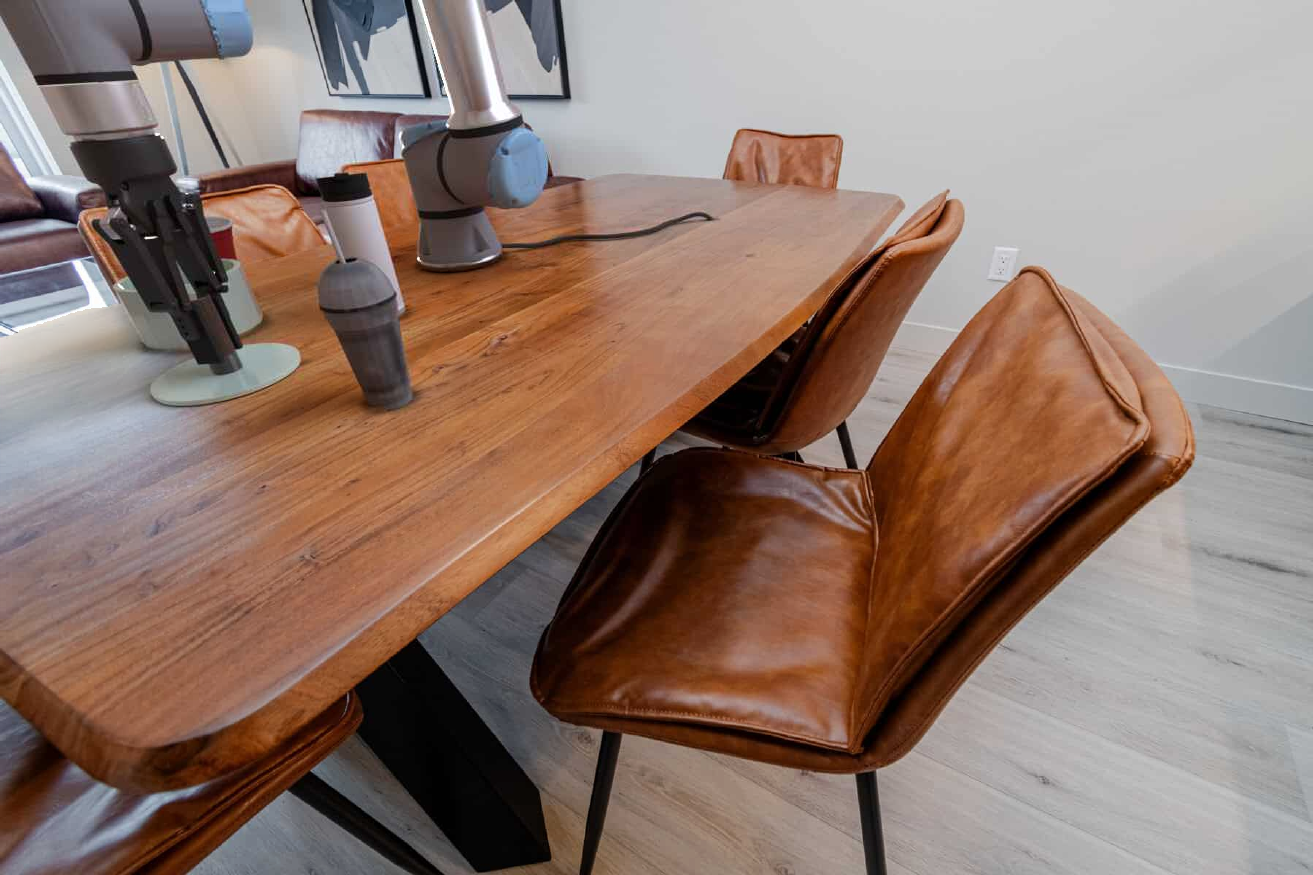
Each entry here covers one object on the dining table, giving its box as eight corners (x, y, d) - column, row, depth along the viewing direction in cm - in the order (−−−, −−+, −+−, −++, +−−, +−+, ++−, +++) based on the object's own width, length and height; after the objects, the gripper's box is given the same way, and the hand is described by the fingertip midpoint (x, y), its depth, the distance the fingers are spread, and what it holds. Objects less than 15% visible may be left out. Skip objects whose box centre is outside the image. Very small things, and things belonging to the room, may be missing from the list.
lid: (324, 347, 79) (295, 271, 74) (263, 406, 66) (223, 318, 60) (205, 355, 79) (168, 279, 73) (122, 415, 66) (68, 328, 60)
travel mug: (364, 328, 85) (313, 176, 74) (360, 314, 90) (312, 170, 79) (409, 319, 87) (367, 170, 76) (403, 305, 92) (363, 165, 81)
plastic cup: (226, 307, 95) (191, 230, 89) (171, 305, 98) (133, 230, 91) (275, 285, 104) (247, 214, 98) (223, 284, 106) (192, 214, 100)
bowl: (282, 310, 93) (260, 255, 88) (229, 349, 81) (200, 288, 76) (187, 316, 93) (160, 261, 88) (120, 356, 80) (85, 294, 76)
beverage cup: (384, 423, 62) (315, 223, 51) (341, 407, 65) (269, 216, 54) (439, 393, 67) (388, 205, 56) (397, 380, 70) (341, 200, 59)
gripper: (133, 128, 65) (228, 330, 78) (2, 148, 51) (142, 389, 64) (203, 124, 65) (286, 327, 78) (90, 143, 51) (213, 385, 64)
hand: (221, 355), depth 71 cm, fingers closed on lid, 3 cm apart
